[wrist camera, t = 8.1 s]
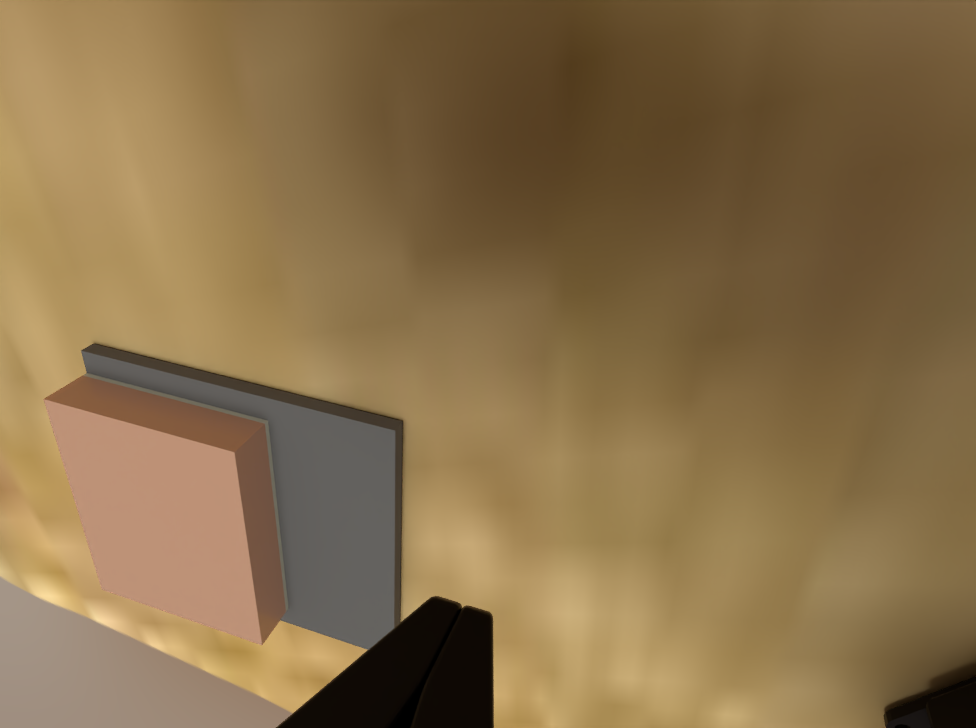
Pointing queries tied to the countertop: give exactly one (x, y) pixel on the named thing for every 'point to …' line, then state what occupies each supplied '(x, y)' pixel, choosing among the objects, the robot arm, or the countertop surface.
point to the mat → (310, 493)
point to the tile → (175, 502)
